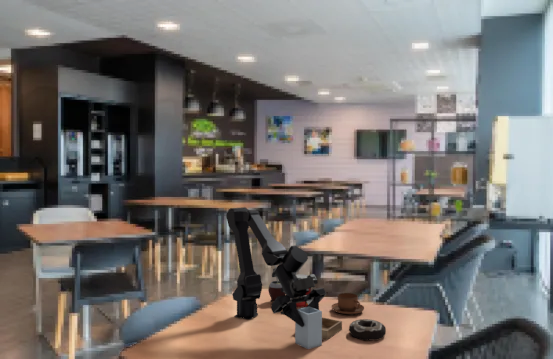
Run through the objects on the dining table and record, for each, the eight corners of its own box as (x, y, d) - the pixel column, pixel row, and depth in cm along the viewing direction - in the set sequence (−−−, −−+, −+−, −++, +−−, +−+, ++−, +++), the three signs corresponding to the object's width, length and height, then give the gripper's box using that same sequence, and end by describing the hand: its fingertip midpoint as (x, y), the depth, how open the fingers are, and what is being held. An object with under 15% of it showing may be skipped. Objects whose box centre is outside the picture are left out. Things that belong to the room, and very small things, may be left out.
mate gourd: (280, 305, 190) (280, 267, 190) (263, 302, 194) (263, 264, 194) (290, 301, 196) (290, 264, 196) (273, 298, 201) (273, 261, 200)
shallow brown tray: (296, 333, 160) (296, 324, 160) (312, 323, 170) (312, 315, 170) (327, 340, 154) (327, 331, 154) (341, 329, 164) (342, 321, 164)
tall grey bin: (295, 343, 152) (295, 309, 151) (308, 339, 155) (309, 306, 154) (308, 349, 147) (308, 314, 146) (321, 345, 150) (322, 311, 150)
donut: (383, 344, 152) (383, 331, 152) (345, 339, 156) (345, 326, 156) (388, 331, 163) (388, 319, 163) (352, 327, 167) (352, 315, 167)
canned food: (309, 308, 187) (310, 279, 187) (289, 306, 189) (289, 278, 189) (312, 302, 195) (312, 274, 194) (292, 301, 197) (292, 273, 196)
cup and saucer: (369, 310, 186) (369, 294, 185) (356, 319, 175) (356, 301, 175) (339, 305, 192) (340, 289, 192) (325, 313, 182) (326, 296, 182)
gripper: (276, 270, 147) (300, 316, 139) (322, 262, 159) (347, 304, 150) (261, 290, 154) (282, 335, 146) (306, 282, 165) (329, 323, 157)
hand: (311, 324), depth 150 cm, fingers open, 6 cm apart
